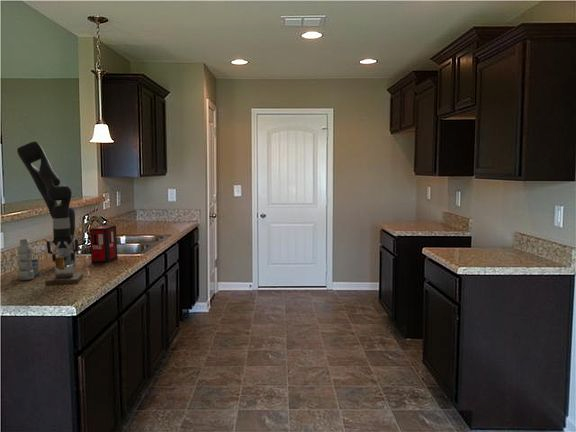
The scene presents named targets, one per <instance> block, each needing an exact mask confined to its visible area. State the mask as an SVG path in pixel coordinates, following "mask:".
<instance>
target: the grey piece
mask: <svg viewBox="0 0 576 432" xmlns="http://www.w3.org/2000/svg"><path fill="white" fill-rule="evenodd" d="M54 263H55V266H54V275H55V277H56V278H66V277H71V276H73V275H74V274H75V272H74V265H72V261H71V254H63V255H60V256H58V255H57V256H56V257H55V262H54Z"/></svg>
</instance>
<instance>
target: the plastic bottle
mask: <svg viewBox="0 0 576 432" xmlns="http://www.w3.org/2000/svg"><path fill="white" fill-rule="evenodd" d="M29 243H30V241H29V239H28V238H27V239H26V238H25V239H20V240H19V245H20V246H18V249H17V256H18V261H19V262H20V271H19V270H18V278H19V279H20V280H21V281H30V280H33V279H34V271H33V266H32V259H33V247H32V246H31V245H30V244H29Z"/></svg>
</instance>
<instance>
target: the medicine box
mask: <svg viewBox="0 0 576 432" xmlns="http://www.w3.org/2000/svg"><path fill="white" fill-rule="evenodd" d="M17 262H18V272H19V271H20V262H19V260H18V261H17ZM32 266H33V271H34V277H38V276H40V272H39V271H40V270H39V259H38V258H32ZM34 277H33V278H34Z"/></svg>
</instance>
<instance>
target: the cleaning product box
mask: <svg viewBox="0 0 576 432" xmlns="http://www.w3.org/2000/svg"><path fill="white" fill-rule="evenodd" d="M117 239H118V238H117V226H116V225H98V226H96V227H91V228H90V229H89V241H90V242H89V243H90V255H91V256H90V259H91V260H90V261H91V264H92V265H93V263H107V264H109V263H111V262H114V261H115V260H117V259H118V243H117V241H118V240H117Z"/></svg>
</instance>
